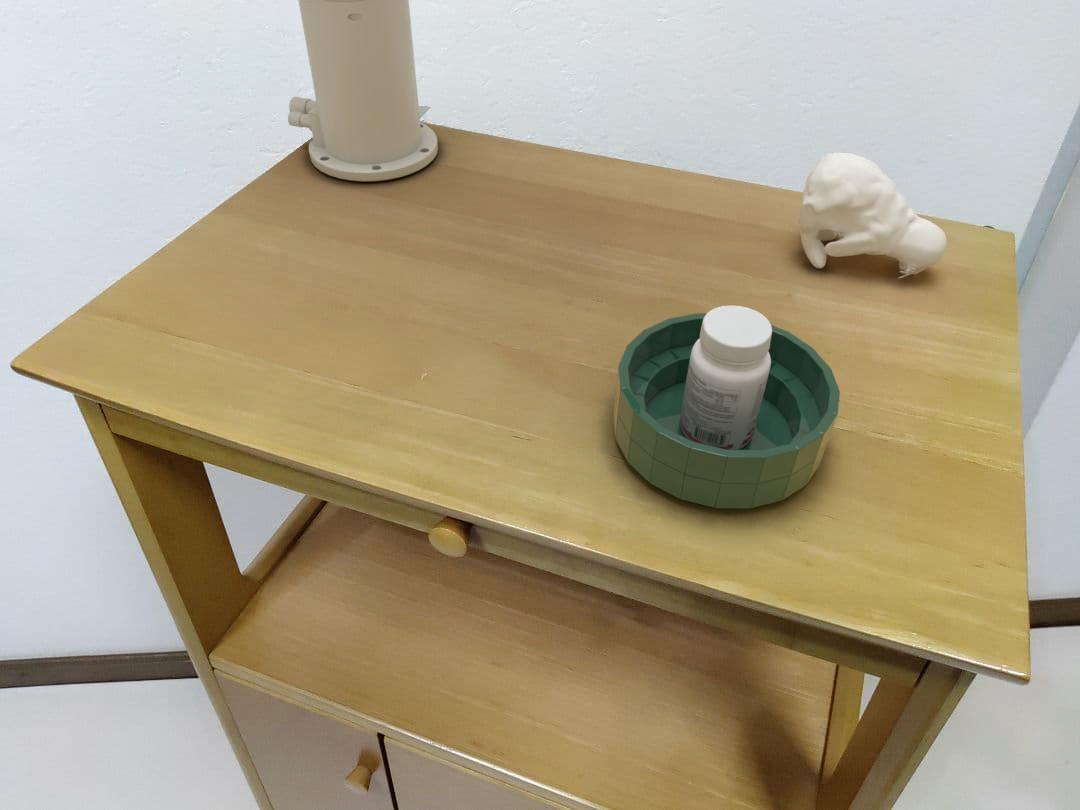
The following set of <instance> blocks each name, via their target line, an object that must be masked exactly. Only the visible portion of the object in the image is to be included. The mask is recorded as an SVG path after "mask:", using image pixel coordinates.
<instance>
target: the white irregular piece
mask: <svg viewBox="0 0 1080 810" xmlns="http://www.w3.org/2000/svg"><path fill="white" fill-rule="evenodd" d="M797 217H798V218H797V222H798V224H799V225H798V226H799V230H800V231H799V232H800V233H799V234H800V242H801V245H802V247H803V250H804V253H805V256H806V257H807V259H808V261H810V263H811V265H812V266H813V267H814V268H815V269H823V268H824V267H825V266H826V263H827V258H828V256H830V257H834V258H835V257H836V258H840V257H848V256H849V257H850V256H851V257H852V256H858V255H863V254H865V255H870V256H882V255H883V256H887V257H889V258H894V259H896V260H898V268H899V273H901V274H902V275H901V276H899V277H898V279H901V278H904V277H907V276H909V275H917V274H919V273H921V272H923V271H924V270H926V269H928V268H929V267H933V266H935V265H937V264H938V263H939V262H940V261H941V260H942V258H943V256H944V255H945V253H946V249H947V237H946V234H945V232H944V231H943V229H942V228H941V227H939V226H938V225H936V224H935V223H933V222H932V221H930V220H928V219H925V218H924V217H923V218H922V217H920V216H918V214H917V213H916V211H915V210H914V209H913V208H911V207H910V205H909V203H908V200H907V198H906V197H905V196H904V195H903V194H902V193H901V192H900V191H899V190H898V188H897V185H896V183H895V182H894V181H893V180H892V179H891V178H890V177H889V176H888V175H887V174H885V172H883V171H882V169H881V168H880V166H879V165H877V164H876V163H875V162H873V161H872V160H870V159H868V158H866V157H863V156H860V155H858V154H854V153H851V152H829V153H826V154H825V155H823V156H821V157H820V158H819V159H818V161H816V163H815V164H814V166H813V167H812V168H811V170H810V172H809V173H808V175H807V178H806V180H805V184H804V189H803V191H802V196H801V205H800V211H799V213H798V216H797ZM837 232H839V237H841V238H840V239H838V240H835V238H836V237H837V234H838V233H837ZM833 240H835V241H833ZM828 241H830V242H828ZM823 242H828V243H826V245H824V243H823Z"/></svg>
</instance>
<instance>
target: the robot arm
mask: <svg viewBox="0 0 1080 810" xmlns="http://www.w3.org/2000/svg"><path fill="white" fill-rule="evenodd" d="M298 5H299V6H298V7H299V12H300V17H301V23H302V28H303V34H304V40H305V45H306V51H307V56H308V57H307V58H308V62H309V67H310V73H311V79H312V85H313V90H314V95H315V100H313V99H311V98H306V97H299V96H293V97H291V99H290V101H289V106H288V108H289V113H288V116H287V122H288V124H289V126H291V127H298V128H306V129H307V128H308V129H309V131H310V132H311V134H312V137H311V139H310V141H309V143H308V153H309V158H310V162H311V163H312V164H313V166H314V167H315V168H316V169H317V170H319V171H320V172H321V173H323V174H325V175H328V176H330V177H333V178H336V179H340V180H346V181H351V182H380V181H390V180H393V179H399V178H402V177H406V176H408V175H409V176H410V175H412V174H413V173H416V172H418V171H421V170H422V169H424V168H425V167H427V166H428V165H429V164H431V162H432V161H433V160H435V158H436V156H437V155H438V150H439V145H438V144H439V143H438V136H437V134H436V132H434V130H433V129H432V128H431V127H430V126H429V125H426V124H425V123H423V122H421V116H420V108H419V107H420V106H419V94H418V83H417V74H416V65H415V64H416V63H415V62H416V61H415V55H414V42H413V41H414V40H413V32H412V31H413V30H412V22H411V11H410V0H298Z"/></svg>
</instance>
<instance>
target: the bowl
mask: <svg viewBox="0 0 1080 810" xmlns="http://www.w3.org/2000/svg"><path fill="white" fill-rule="evenodd" d="M707 313H708V312H707ZM707 313H703V312H702V313H701V312H700V313H699V312H697V313H691V314H686V315H680V316H679V315H678V316H675V317H669V318H666V319H664V320H662V321H660V322H657V323H656V324H653V325H651V326H648V327H647V328H645V329H643V330H642V331H641V332H640V333H638V335H637V336H636V337H635V338H633V339H632V340H631V341H630V342H629V343H628V344H627V345H626V347H625V349H624V351H623V354H622V356H621V359H620V361H619V364H618V366H617V367H618V368H617V377H616V387H615V398H614V407H613V415H612V417H613V428H614V429H613V430H614V439H615V442H616V443H617V445H618V446H619V449H620V450H621V452H622V454H623V456H624V458H625V459H626V462H627V463H628V464H629V465H630V466H631V467H632V468H633V469H634V470H635V471H636V472H637V473H638V474H640V475H641V477H643V478H644V479H645V480H646V481H647V482H648V483H649V484H651V485H653V486H655V487H656V488H657V489H658V488H659V490H662V491H664V492H665V493H668V494H670V495H671V496H673V497H675V498H677V499H679V500H683V501H687V502H691V503H693V504H698V505H702V506H706V507H709V508H715V509H748V510H749V509H753V508H756V507H761V506H762V507H763V506H765V505H769V504H774V503H777V502H781V501H784V500H785V499H787V498H788V497H790V496H792V495H793V494H794V493H796V492H798V491H799V490H801V489H803V488H804V487H806V485H808V483H809V482H810V480H811V479H812V477H813V476H814V475H815V473H816V471H817V470H818V468H819V467H820V465H821V462H822V459H823V457H824V454H825V452H826V448H827V446H828V443H829V441H830V437H831V434H832V432H833V429H834V426H835V424H836V420H837V417H838V414H839V407H840V397H841V391H840V388H839V385H838V383H837V380H836V377H835V375H834V372H833V370H832V368H831V367H830V366H829V364H828V363H827V362H826V361H825V360H824V359H823V358H822V356H820V354H819V353H818V352H817V350H815V348H813V347H812V346H811V345H809V344H807V343H806V342H805V341H803V340H801V338H799V337H797V336H796V335H795V334H793V333H792V332H790V331H788V330H785V329H782V328H780V327H778V326H775V325H772V324H771V326H772V335H771V341H770V348H769V350H768V352H769V354H770V358H771V366H770V371H769V375H768V379H767V382H766V387H765V391H764V394H763V398H762V403H761V406H760V411H759V415H758V418H757V422H756V427H755V431H754V434H753V436H752V438H751V440H750V441H749V443H748V444H747V445H745V446H744V447H743V448H741V449H739V450H726V449H722V448H718V447H713V446H709V445H705V444H701V443H697V442H693V441H691V440H689V439H687V438H686V437H685V435H684V434H683V432H682V429H681V426H680V416H681V410H682V404H683V398H684V392H685V386H686V380H687V374H688V368H689V362H690V356H691V352H692V348H693V346H694V344H695V343H696V341H697V340H698V339H699V338H700V331H701V327H702V322H703V319H704V317H705V315H706V314H707Z"/></svg>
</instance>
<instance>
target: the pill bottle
mask: <svg viewBox="0 0 1080 810" xmlns="http://www.w3.org/2000/svg"><path fill="white" fill-rule="evenodd" d="M771 325H772V324H771V322H770V321H769V320H768V318H767V317H766V316H765V315H764V314H762V313H761V312H759V311H758V310H755V309H752V308H750V307H748V306H747V307H746V306H742V305H731V304H730V305H729V304H728V305H721V306H717V307H715V308H712V309H711V310H709V311H708V312H707V314H706V315H705V317H704V319H703V322H702V327H701V331H700V338H699V339H698V340H697V341H696V343H695V344H694V346H693V348H692V352H691V356H690V362H689V368H688V374H687V380H686V386H685V392H684V398H683V404H682V410H681V416H680V426H681V429H682V432H683V434H684V435H685V437H686V438H687V439H689V440H691V441H693V442H697V443H701V444H705V445H709V446H713V447H718V448H722V449H726V450H739V449H741V448H743V447H744V446H745V445H747V444H748V443H749V441H750V440H751V438H752V436H753V434H754V431H755V427H756V422H757V418H758V415H759V411H760V406H761V403H762V398H763V394H764V391H765V387H766V382H767V379H768V375H769V371H770V366H771V358H770V354H769V352H768V350H769V348H770V341H771V335H772V326H771Z"/></svg>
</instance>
